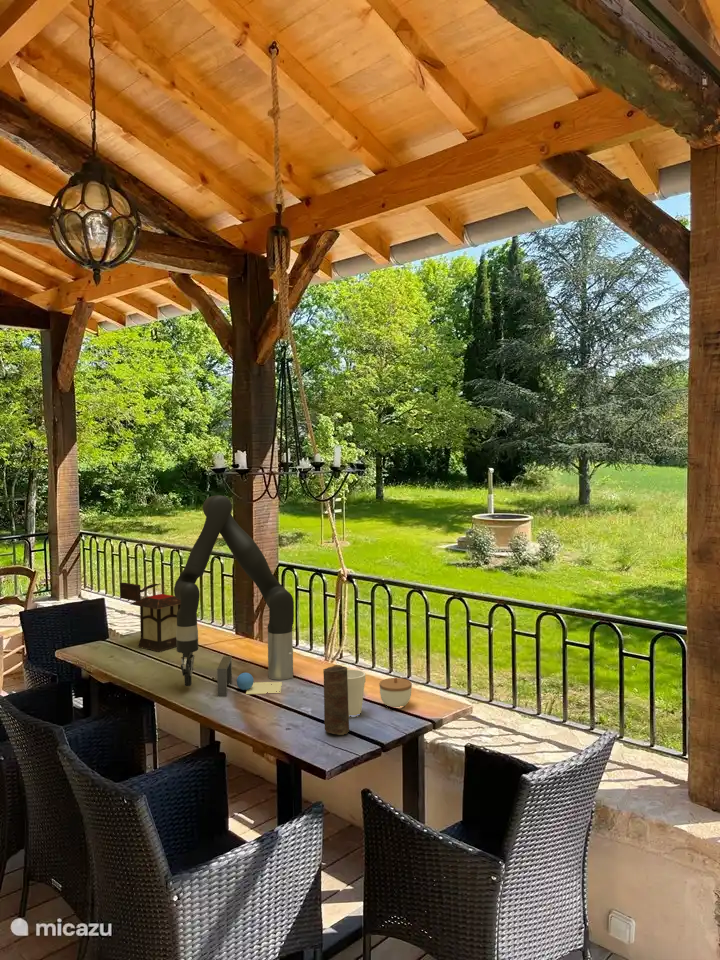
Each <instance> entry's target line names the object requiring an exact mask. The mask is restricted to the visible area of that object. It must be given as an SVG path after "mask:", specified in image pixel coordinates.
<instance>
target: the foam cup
mask: <svg viewBox="0 0 720 960" xmlns="http://www.w3.org/2000/svg"><path fill="white" fill-rule="evenodd" d="M347 681H348V711H349V715H357V714H360V713H361V714H362V709H363V702H364V694H365V691H364V690H365V683H366V672H365V671H363V670H359V669H349V668H348V669H347Z"/></svg>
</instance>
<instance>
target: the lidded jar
mask: <svg viewBox="0 0 720 960" xmlns="http://www.w3.org/2000/svg"><path fill="white" fill-rule="evenodd" d="M378 685H379V686H378V687H379V695H380V698H381V699H380V700H381V701H382V703H384V704H385V706H386V705H387V706H391V707H400V706H405V707H406V705H407V704H408V703H409V702H410V700H411V697H412V687H413V686H412V685H413V684H412V681H410V680H409V679H406V678H401V677H389V678H384V679H382V680H381V681H379V684H378ZM387 706H386V707H387Z"/></svg>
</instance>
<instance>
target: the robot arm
mask: <svg viewBox="0 0 720 960" xmlns="http://www.w3.org/2000/svg"><path fill="white" fill-rule="evenodd" d="M232 510H233V504H232V501H231V500H230V499H229V498H228V497H227V496H225V495H219V494H218V495H211V496H209V497H207V498H206V499H205V500H204V502H203V505H202V511H203V514H204V515H205V521H204V524H203V527H202V529H201V532H200V534H199V535H198V537H197V539H196V541H195V543H194V544H193V546H192V548H191V551H190V553H189V555H188V557H187V560H186V563H185V566H184V569H183V570H182V571H181V573H180V574H179V576H178V578H177V580H176V581H175V583H174V587H173V596H175V597H176V598H178V599H179V600H181V605H180V609H179V610H178V611H177V630H176V644H177V647H176V652H177V653H181V654H182V656H181V657H180V662H181V664H180V669H181V674H182V676H183V677H184V687H191V686H192V684H193V682H192V675H193V672H194V664H195V654H193V653H195V652H197V651H198V650H199V628H198V609H199V604H200V603H199V602H200V596H201V594H200V588H199V587H198V585H197V584H196V583H197V580H198V578H200V577H202V576H203V575H204V573H205V571H206V568H207V566H208V563H209V561H210V558H211V555H212V552H213V549H214V548H215V544H216V542H217V539H219V538H218V537H219V536H220V535H221V537H222V540H223V541H224V542H225V544H226V546H227V548H228V549H229V550H230V551H231V553H232V555H233V557H234V558H235V560H236V561H237V563H238V564H239V565H240V567H241V569H242V570H243V571H244V572H245V574H246V575H247V576H248V577H249V578H250V579H251V580H252V582H254V584H255V585H256V586H257V588H258V590H259V592H260V594H261V595H262V598H263V600H264V601H265V603H266V604H265V605H266V606H267V607H268V609H269V613H268V615H269V616H268V617H269V620H268V623H267V673H268V675H267V677H268V678H269V679H271V680H274V681H275V680H277V681H282V680H283V681H284V680H288V679H293V678H294V649H293V647H294V646H293V645H294V644H293V643H294V642H293V627H294V620H295V618H294V617H295V616H294V614H295V609H294V608H295V607H294V606H295V602H294V597H293V595H292V594H291V593H290V592H289V591H288V590H287V589H285V587H284V586H283V585H282V584H281V583H280V582H279V581H278V580H277V578H276V576H274V574H273V572H272V570H271V568H270V566H269V563H268V562H267V559H266V557H265V555H264V553H263V552H262V551H261V549H260V548H259V545H258V543H256V542H255V540H254V539H253V538H252V537H251V536H250V535H249V534H248V533H247V531H245V530H244V529H243V528H242V527H241V526H240V525H239V524H238V522H237V521H236V519H235V518H234V515H232Z"/></svg>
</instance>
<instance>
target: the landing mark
mask: <svg viewBox="0 0 720 960" xmlns="http://www.w3.org/2000/svg"><path fill="white" fill-rule="evenodd" d="M271 684H272V685H271ZM281 686H283V682H282V681H271V682H270V681H265V682H263V681H262V682H261V681H259V682H256V681H255V682H253V685H252V687H251V688H250V689H248V690H245V691H246V692H245V695H267V694H266V693H267V692H268V693H280V694H281V692H282V687H281ZM276 691H277V692H276ZM279 691H280V692H279Z"/></svg>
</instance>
